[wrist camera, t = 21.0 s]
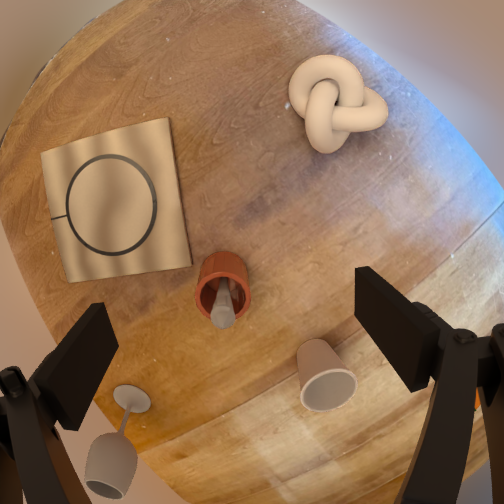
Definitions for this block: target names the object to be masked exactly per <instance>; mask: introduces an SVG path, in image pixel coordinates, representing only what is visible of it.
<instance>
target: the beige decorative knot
mask: <svg viewBox="0 0 504 504" xmlns="http://www.w3.org/2000/svg"><path fill="white" fill-rule="evenodd" d="M325 78H331V79H334V80H324V81H321V82H319V83H317V82H318V81H320V80H322V79H325ZM316 83H317V84H316ZM315 84H316V86H315V87H314V88H313V86H314V85H315ZM312 88H313V89H312ZM288 93H289V99H290V103H291V105H292V107H293V108H294V110H295V111H296V113H297V114H298V115H299V116H301V117H302V118H304V119H305V130H306V134H307V137H308V139H309V142H310V144H311V146H312V147H313V148H314V149H316V150H317V151H319V152H321V153H332V152H334V151H336V150H338V149H339V148H340V147H341V146H342V145H343V144H344V142H345V141H346V139H347V138H348V136H349V134H350V132H363V131H369V130H373V129H376V128H379V127H380V126H382V125H383V124H384V123H385V121H386V119H387V117H388V107H387V104H386V102H385V101H384V100H383V98H382V97H381V96H380V95H379V94H378V93H376V92H375V91H373V90H372V89H370V88H368V87H366V86H364V81H363V78H362V76H361V74H360V72H359V71H358V70H357V68H356V67H355V66H354V65H353V64H352V63H351V62H349V61H348V60H346V59H344V58H342V57H339V56H335V55H319V56H315V57H312V58H310V59H308V60H306V61H305V62H303V63H302V64H301V65H300V66H299V67H298V68H297V69H296V71H295V72H294V74H293V75H292V77H291V80H290V82H289V88H288ZM335 101H338V102H337V105H336V106H334V104H335Z"/></svg>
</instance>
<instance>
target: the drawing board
mask: <svg viewBox="0 0 504 504" xmlns="http://www.w3.org/2000/svg"><path fill="white" fill-rule="evenodd" d="M41 161H42V169H43V176H44V182H45V188H46V194H47V200H48V205H49V210H50V215H51V220H52V224H53V229H54V233H55V237H56V241H57V245H58V249H59V253H60V257H61V260H62V264H63V268H64V271H65V274H66V278H67V281H68V283H73V282H81V281H88V280H95V279H103V278H110V277H117V276H125V275H132V274H139V273H146V272H154V271H161V270H168V269H175V268H182V267H189V266H192V264H193V263H192V257H191V252H190V247H189V241H188V236H187V230H186V225H185V219H184V213H183V207H182V201H181V195H180V189H179V183H178V176H177V170H176V163H175V156H174V149H173V141H172V134H171V126H170V118H169V117H164V118H160V119H155V120H150V121H146V122H142V123H137V124H133V125H129V126H125V127H121V128H118V129H114V130H110V131H106V132H103V133H99V134H96V135H93V136H89V137H86V138H83V139H80V140H76V141H73V142H70V143H67V144H64V145H61V146H58V147H56V148H53V149H50V150H47V151H44V152H42V153H41Z"/></svg>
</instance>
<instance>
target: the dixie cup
mask: <svg viewBox="0 0 504 504" xmlns="http://www.w3.org/2000/svg"><path fill="white" fill-rule="evenodd" d="M297 365H298V372H299V380H300V389H301V393H300V400H301V403H302V405H303V406H304V407H305V408H307V409H308V410H310V411H314V412H328V411H332V410H335V409H337V408H339V407H341V406H343V405H344V404H346V403H347V402H348V401H349V400H350V399H351V398H352V397H353V396H354V394H355V392H356V390H357V386H358V381H357V378H356V376H355V375H354V373H352V372H351V371H349V369H348V368H347V367H346V366H345V364H344V363H343V362H342V361H341V359H340V358H339V357H338V356H337V354H336V353H335V352H334V351H333V349H332V348H331V347H330V346H329V344H328V343H327V342H326V341H324V340H322V339H312V340H308V341H306V342H305V343H303V344H302V345H301V346H300V347H299V349H298V351H297Z"/></svg>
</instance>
